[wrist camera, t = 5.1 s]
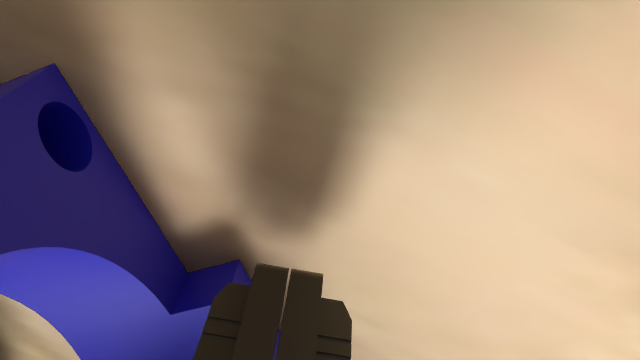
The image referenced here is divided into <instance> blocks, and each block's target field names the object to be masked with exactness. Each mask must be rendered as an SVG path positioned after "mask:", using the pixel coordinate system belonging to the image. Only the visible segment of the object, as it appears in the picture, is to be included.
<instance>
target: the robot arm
mask: <svg viewBox="0 0 640 360" xmlns="http://www.w3.org/2000/svg"><path fill="white" fill-rule="evenodd" d="M288 272H289V268H284V267H278V266H272V265H266V264H260V263H257V265H256V269H255V273H254V276H253V280H252V284H251V286H249V285H243V284H237V283H231V282H229V283H228V284H227V285H226V286H225V287H224V288H223V289H222V290H221V291H220V292H219V293H218V294H217V295H216V296H215V297H214V299H213V302H212V305H211V307H210V310H209V313H208V316H207V320H206V322H205V325H204V328H203V331H202V335H201V337H200V340H199V342H198V345H197V348H196V351H195V354H194V357H193V360H273V357H274V351H275V346H276V340H277V334H278V329H279V323H280V317H281V312H282V306H283V300H284V294H285V289H286V283H287V277H288ZM322 283H323V274H320V273H314V272H308V271H302V270H296V269H291V274H290V280H289V286H288V291H287V297H286V303H285V308H284V314H283V320H282V325H281V331H280V337H279V342H278V348H277V354H276V359H275V360H351V333H352V320H351V318H350V316H349V313H348V311H347V309H346V307H345V305H344V303H343V301H337V300H332V299H326V298H321V294H322Z"/></svg>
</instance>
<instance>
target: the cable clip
mask: <svg viewBox="0 0 640 360" xmlns="http://www.w3.org/2000/svg"><path fill="white" fill-rule="evenodd" d="M229 282H231V283H237V284H243V285H249V286H251V284H252V281H251V279H250V277H249V276H248V274H247V272H246V270H245V269H244V267H243V265H242V263H241V261H240V260H237V261H233V262H229V263H225V264H221V265H218V266H214V267H210V268H206V269H202V270H199V271H195V272H191V273H188V272H187V271H186V269H185V268H184V266H183V264H182V263H181V261H180V260H179V258H178V257H177V255H176V253H175V252H174V250H173V249H172V247H171V246H170V244H169V242H168V241H167V239H166V238H165V236H164V235H163V233H162V231H161V230H160V228H159V227H158V225H157V224H156V222H155V220H154V219H153V217H152V216H151V214H150V213H149V211H148V209H147V208H146V206H145V205H144V203H143V202H142V200H141V198H140V197H139V195H138V194H137V192H136V191H135V189H134V187H133V186H132V184H131V183H130V181H129V180H128V178H127V176H126V175H125V173H124V172H123V170H122V169H121V167H120V165H119V164H118V162H117V161H116V159H115V158H114V156H113V154H112V153H111V151H110V150H109V148H108V147H107V145H106V143H105V142H104V140H103V139H102V137H101V136H100V134H99V132H98V131H97V129H96V128H95V126H94V125H93V123H92V121H91V120H90V118H89V117H88V115H87V114H86V112H85V110H84V109H83V107H82V106H81V104H80V103H79V101H78V99H77V98H76V96H75V95H74V93H73V92H72V90H71V88H70V87H69V85H68V84H67V82H66V81H65V79H64V77H63V76H62V74H61V73H60V71H59V70H58V68H57V66H56V65H55V63H54V64H51V65H49V66H46V67H44V68H41V69H39V70H36V71H34V72H31V73H29V74H26V75H24V76H21V77H19V78H16V79H14V80H11V81H9V82H6V83H4V84H1V85H0V294H2V295H4V296H7V297H9V298H11V299H14V300H16V301H18V302H20V303H22V304H23V305H25V306H27V307H28V308H30V309H32V310H34V311H35V312H36V313H38V314H39V315H40V316H42V317H43V318H44V319H46V320H47V321H48V322H49V323H50V324H51V325H52V326H54V327H55V328H56V329H57V330H58V331H59V332H60V333H61V334H62V335H63V337H64V338H65V339H66V340H67V341H68V343H69V344H70V345H71V346H72V347H73V349H74V350H75V352H76V353H77V355H78V356H79V358H80V359H81V360H193V357H194V354H195V351H196V348H197V345H198V342H199V340H200V337H201V335H202V331H203V328H204V325H205V322H206V320H207V316H208V313H209V310H210V307H211V305H212V302H213V299H214V297H215V296H216V295H217V294H218V293H219V292H220V291H221V290H222V289H223V288H224V287H225V286H226V285H227V284H228V283H229ZM279 337H280V330H279V329H278V334H277V340H276V346H275V351H274V357H273V360H275V359H276V354H277V348H278V342H279Z"/></svg>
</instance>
